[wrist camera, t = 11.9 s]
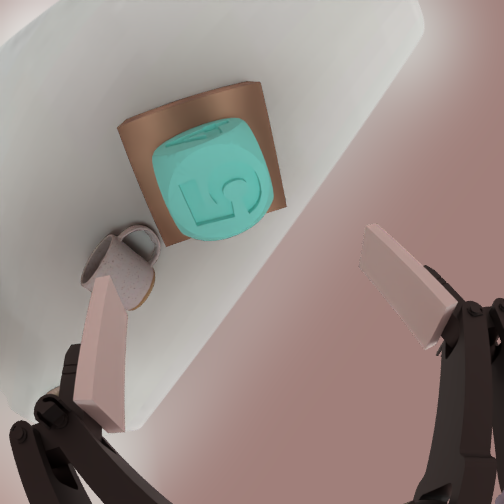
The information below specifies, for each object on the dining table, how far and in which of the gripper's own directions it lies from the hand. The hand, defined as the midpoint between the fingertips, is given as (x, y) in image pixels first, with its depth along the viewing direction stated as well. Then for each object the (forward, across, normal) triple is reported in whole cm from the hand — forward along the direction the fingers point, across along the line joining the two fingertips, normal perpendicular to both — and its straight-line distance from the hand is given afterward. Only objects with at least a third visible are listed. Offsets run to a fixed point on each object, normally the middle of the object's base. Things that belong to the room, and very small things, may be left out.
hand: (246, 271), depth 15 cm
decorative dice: (+17, 0, 0) cm, 17 cm away
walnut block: (+23, 0, 0) cm, 23 cm away
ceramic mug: (+23, -12, -11) cm, 28 cm away
